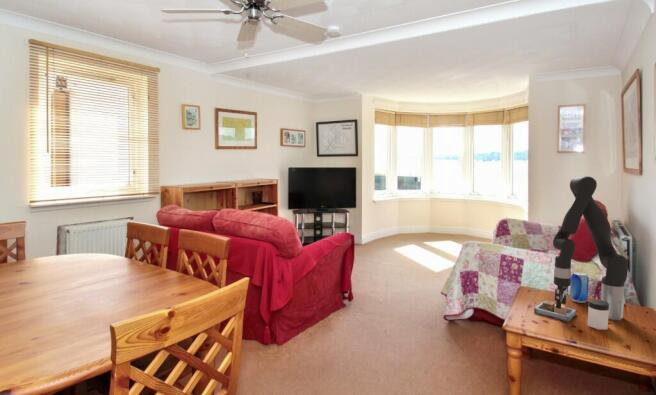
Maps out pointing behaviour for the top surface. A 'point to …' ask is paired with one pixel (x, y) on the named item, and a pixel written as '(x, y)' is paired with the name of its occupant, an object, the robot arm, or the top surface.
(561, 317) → the tray
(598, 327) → the jar
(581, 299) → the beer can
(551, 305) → the block walnut
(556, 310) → the block terracotta
